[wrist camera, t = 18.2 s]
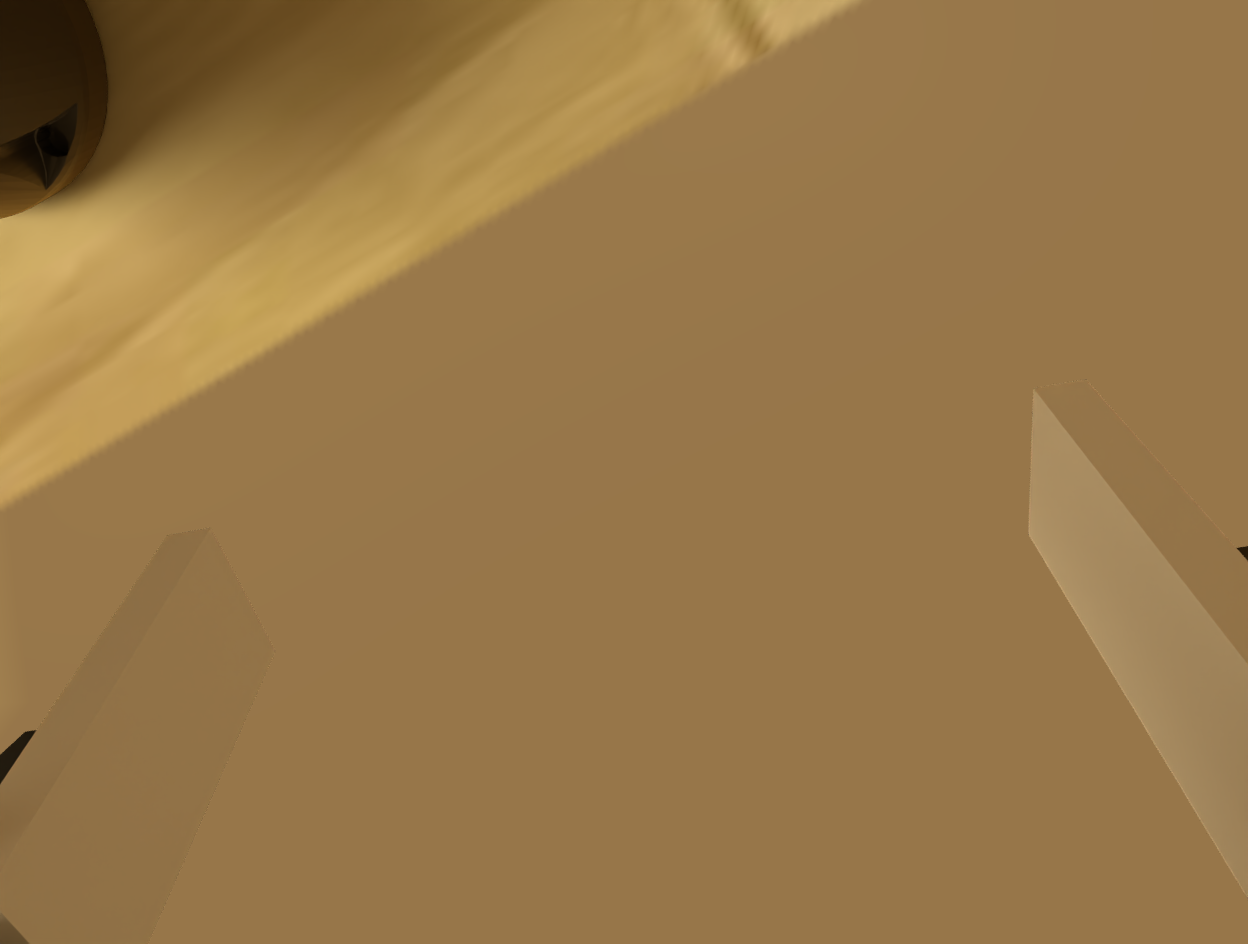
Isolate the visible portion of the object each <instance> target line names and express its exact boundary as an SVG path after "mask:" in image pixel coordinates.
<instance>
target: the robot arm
mask: <svg viewBox="0 0 1248 944" xmlns="http://www.w3.org/2000/svg"><path fill="white" fill-rule="evenodd" d="M106 110H107V74H106V67H105V61H104V56H103V51H102V47H101V43H100V40H99V36H98V33H97V30H96V27H95V24H94V22H93V19H92V17H91V14H90V12H89V10H88V7H87V5H86V3H85V1H84V0H0V219H1V218H5V217H9V216H12V215H15V214H18V213H21V212H23V211H25V210H27V209H30V208H32V207H33V206H35V205H37V204H39V203H40V202H42V201H44V200H45V199H47V198H49V197H50V196H52V195H54V194H56V193H57V192H59V191H60V190H62V189H63V188H65V187H66V186H67V185H68V184H69V183H71V182H72V181H73V180H74V179H75V178H76V177H77V176H78V175H79V174H80V173H81V171H82V170H83V169H84V168H85V166H86V165H87V164H88V162H89V160H90V159H91V157H92V155H93V153H94V151H95V149H96V147H97V145H98V142H99V140H100V137H101V134H102V130H103V127H104V122H105V117H106ZM1032 417H1033V418H1032V443H1031V475H1030V502H1029V532H1028V533H1029V534H1028V535H1029V536H1030V538H1031V540H1032V541H1033V543H1034V545H1035V546H1036V548H1037V550H1038V551H1039V553H1040V554H1041V556H1042V558H1043V559H1044V561H1045V563H1046V565H1047V566H1048V568H1049V570H1050V571H1051V573H1052V575H1053V576H1054V578H1055V579H1056V581H1057V583H1058V584H1059V586H1060V588H1061V589H1062V591H1063V593H1064V594H1065V596H1066V598H1067V599H1068V601H1069V603H1070V604H1071V606H1072V608H1073V609H1074V611H1075V613H1076V614H1077V616H1078V618H1079V619H1080V621H1081V623H1082V624H1083V626H1084V628H1085V629H1086V631H1087V633H1088V634H1089V636H1090V638H1091V639H1092V641H1093V643H1094V644H1095V646H1096V647H1097V649H1098V651H1099V653H1100V654H1101V656H1102V657H1103V659H1104V661H1105V663H1106V664H1107V666H1108V668H1109V669H1110V671H1111V673H1112V674H1113V676H1114V678H1115V679H1116V681H1117V683H1118V684H1119V686H1120V687H1121V689H1122V691H1123V693H1124V694H1125V696H1126V697H1127V699H1128V701H1129V702H1130V704H1131V706H1132V707H1133V709H1134V711H1135V712H1136V714H1137V716H1138V717H1139V719H1140V721H1141V722H1142V724H1143V726H1144V727H1145V729H1146V731H1147V732H1148V734H1149V735H1150V737H1151V739H1152V741H1153V742H1154V744H1155V746H1156V747H1157V749H1158V751H1159V752H1160V754H1161V756H1162V757H1163V759H1164V761H1165V762H1166V764H1167V766H1168V767H1169V769H1170V770H1171V772H1172V774H1173V775H1174V777H1175V779H1176V781H1177V782H1178V784H1179V785H1180V787H1181V789H1182V791H1183V792H1184V794H1185V796H1186V797H1187V799H1188V800H1189V802H1190V804H1191V805H1192V807H1193V809H1194V810H1195V812H1196V814H1197V816H1198V817H1199V819H1200V821H1201V822H1202V824H1203V825H1204V827H1205V829H1206V830H1207V832H1208V833H1209V835H1210V837H1211V839H1212V840H1213V842H1214V844H1215V845H1216V847H1217V849H1218V850H1219V852H1220V854H1221V855H1222V857H1223V859H1224V860H1225V862H1226V864H1227V865H1228V867H1229V868H1230V870H1231V872H1232V874H1233V875H1234V877H1235V879H1236V880H1237V882H1238V884H1239V885H1240V887H1241V888H1242V890H1243V892H1244V894H1245V895H1246V897H1247V899H1248V546H1247V547H1240V548H1236V547H1235V546H1234V545H1233V544H1232V543H1231V542H1230V541H1229V539H1228V538H1227V537H1226V536H1225V535H1224V534H1223V533H1222V531H1220V529H1219V528H1218V527H1217V526H1216V525H1215V524H1214V522H1213V521H1212V520H1211V519H1210V518H1209V517H1208V516H1207V515H1206V514H1205V512H1204V511H1203V510H1202V509H1201V508H1200V507H1199V506H1198V504H1197V503H1196V502H1195V501H1194V500H1193V499H1192V498H1191V497H1190V496H1189V494H1188V493H1187V492H1186V491H1185V490H1184V489H1183V488H1182V487H1181V485H1180V484H1179V483H1178V482H1177V481H1176V480H1175V479H1174V478H1173V476H1172V475H1171V474H1170V473H1169V472H1168V471H1167V470H1166V469H1165V468H1164V466H1163V465H1162V464H1161V463H1160V462H1159V461H1158V460H1157V458H1156V457H1155V456H1154V455H1153V454H1152V453H1151V452H1150V451H1149V450H1148V448H1147V447H1146V446H1145V445H1144V444H1143V443H1142V442H1141V441H1140V439H1139V438H1138V437H1137V436H1136V435H1135V434H1134V433H1133V432H1132V430H1131V429H1130V428H1129V427H1128V426H1127V425H1126V424H1125V423H1124V421H1123V420H1122V419H1121V418H1120V417H1119V416H1118V415H1117V414H1116V412H1115V411H1114V410H1113V409H1112V408H1111V407H1110V406H1109V405H1108V403H1107V402H1106V401H1105V400H1104V399H1103V398H1102V397H1101V396H1100V394H1099V393H1098V392H1097V391H1096V390H1095V389H1094V388H1093V387H1092V385H1091V384H1090V383H1089V382H1088V381H1087V380H1086V379H1085V380H1079V381H1073V382H1067V383H1062V384H1056V385H1050V386H1044V387H1038V388H1034V389H1033V413H1032ZM274 653H275V649H274V647H273V645H272V643H271V641H270V639H269V637H268V635H267V633H266V632H265V630H264V628H263V626H262V624H261V622H260V620H259V618H258V616H257V615H256V613H255V610H254V609H253V607H252V605H251V603H250V601H249V599H248V597H247V595H246V594H245V591H244V590H243V588H242V586H241V584H240V582H239V580H238V578H237V576H236V574H235V573H234V570H233V569H232V567H231V565H230V563H229V561H228V559H227V557H226V555H225V553H224V551H223V550H222V548H221V546H220V544H219V542H218V540H217V538H216V536H215V534H214V532H213V530H212V529H211V528H206V529H200V530H194V531H188V532H182V533H176V534H170V535H167V536H166V538H165V539H164V541H163V542H162V544H161V545H160V547H159V548H158V550H157V551H156V553H155V554H154V556H153V557H152V559H151V560H150V562H149V563H148V565H147V566H146V568H145V569H144V571H143V572H142V574H141V575H140V576H139V578H138V580H137V581H136V582H135V584H134V585H133V587H132V588H131V590H130V591H129V593H128V594H127V596H126V597H125V599H124V601H123V602H122V603H121V605H120V606H119V608H118V610H117V611H116V612H115V614H114V615H113V617H112V618H111V620H110V621H109V623H108V624H107V626H106V628H105V629H104V630H103V632H102V633H101V635H100V636H99V638H98V639H97V641H96V642H95V644H94V645H93V647H92V648H91V650H90V651H89V653H88V654H87V656H86V657H85V659H84V660H83V662H82V663H81V665H80V666H79V668H78V669H77V671H76V672H75V674H74V675H73V677H72V678H71V680H70V681H69V683H68V684H67V686H66V687H65V689H64V690H63V691H62V693H61V694H60V696H59V698H58V699H57V700H56V702H55V703H54V705H53V706H52V708H51V709H50V711H49V712H48V714H47V716H46V717H45V718H44V720H43V721H42V723H41V724H40V726H39V727H38V729H37V730H34V731H27V732H25V733H23V734H22V735H21V736H20V737H19V738H18V739H17V740H16V741H15V742H14V743H13V744H11V745H10V746H9V747H8V748H7V749H6V750H5V751H4V752H3V753H2V754H1V755H0V944H148V943H149V941H150V938H151V936H152V933H153V931H154V929H155V927H156V924H157V922H158V920H159V918H160V915H161V913H162V911H163V908H164V906H165V904H166V901H167V899H168V897H169V895H170V892H171V890H172V888H173V885H174V883H175V881H176V879H177V876H178V874H179V871H180V869H181V867H182V865H183V862H184V860H185V858H186V855H187V853H188V851H189V848H190V846H191V844H192V842H193V839H194V837H195V835H196V832H197V830H198V828H199V826H200V823H201V821H202V819H203V816H204V814H205V812H206V810H207V807H208V805H209V803H210V800H211V798H212V796H213V794H214V791H215V789H216V787H217V784H218V782H219V780H220V777H221V775H222V772H223V770H224V768H225V766H226V764H227V761H228V759H229V757H230V754H231V752H232V750H233V748H234V745H235V743H236V741H237V738H238V736H239V734H240V732H241V729H242V727H243V725H244V722H245V720H246V718H247V715H248V713H249V711H250V709H251V706H252V704H253V701H254V699H255V697H256V695H257V692H258V690H259V688H260V686H261V683H262V681H263V678H264V676H265V674H266V672H267V669H268V667H269V665H270V663H271V660H272V658H273V656H274Z"/></svg>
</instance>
